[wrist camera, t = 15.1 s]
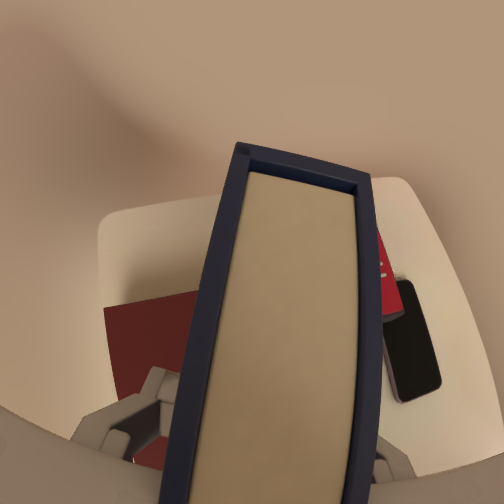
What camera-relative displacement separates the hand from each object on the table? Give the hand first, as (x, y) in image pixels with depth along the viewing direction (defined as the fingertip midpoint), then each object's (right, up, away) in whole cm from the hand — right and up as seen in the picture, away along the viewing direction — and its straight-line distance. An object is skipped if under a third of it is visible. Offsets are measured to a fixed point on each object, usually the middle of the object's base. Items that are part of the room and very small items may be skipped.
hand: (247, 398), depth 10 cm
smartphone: (+19, -6, +23) cm, 30 cm away
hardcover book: (-1, -4, +5) cm, 7 cm away
